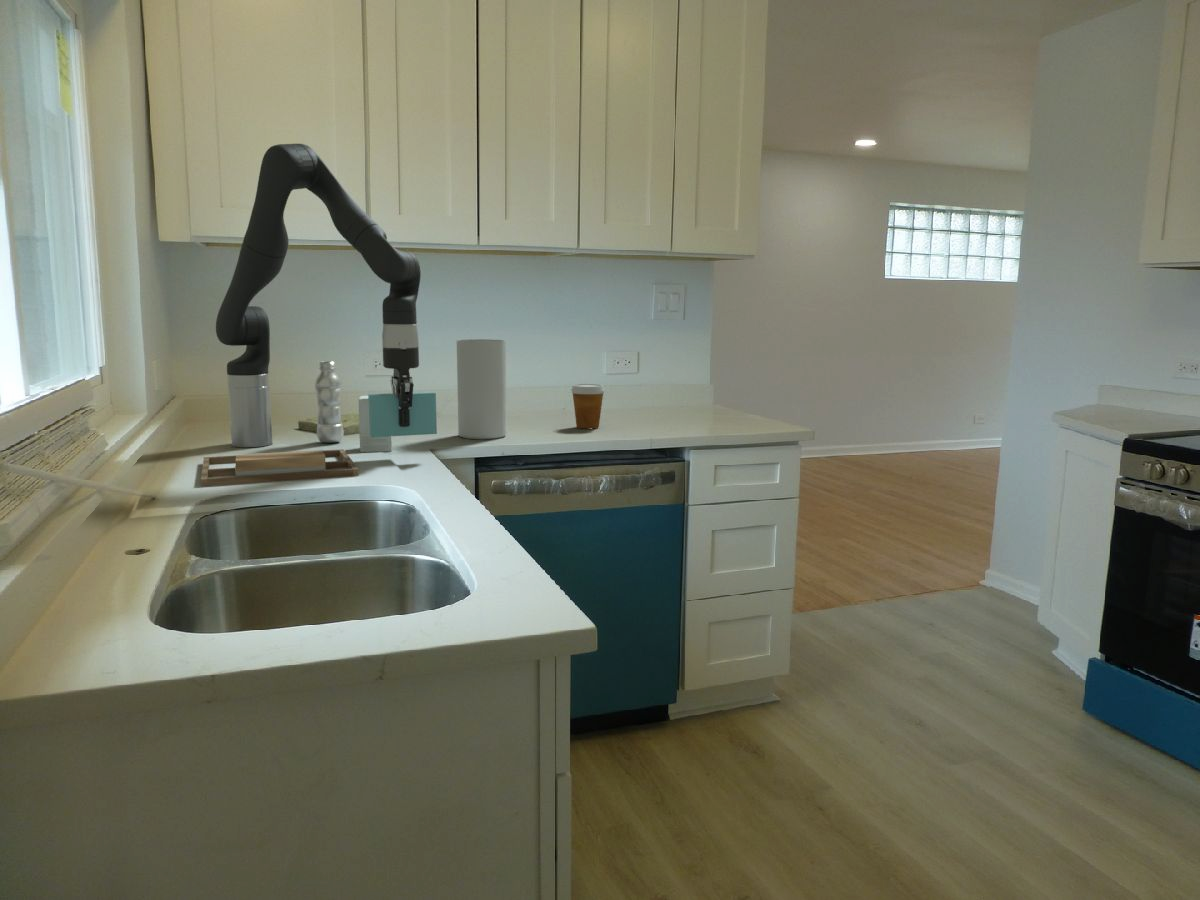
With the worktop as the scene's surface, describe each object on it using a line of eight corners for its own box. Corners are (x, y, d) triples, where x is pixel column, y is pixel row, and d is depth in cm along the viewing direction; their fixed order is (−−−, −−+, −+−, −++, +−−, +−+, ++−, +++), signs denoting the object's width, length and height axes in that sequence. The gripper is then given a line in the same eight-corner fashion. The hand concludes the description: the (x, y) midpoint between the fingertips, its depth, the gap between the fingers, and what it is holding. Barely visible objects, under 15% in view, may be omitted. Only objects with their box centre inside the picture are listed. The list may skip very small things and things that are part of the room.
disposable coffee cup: (565, 428, 239) (566, 386, 237) (577, 424, 248) (577, 383, 246) (598, 430, 236) (598, 387, 234) (608, 426, 245) (609, 384, 243)
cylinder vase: (516, 436, 225) (515, 340, 220) (477, 441, 216) (475, 342, 212) (487, 431, 233) (485, 338, 229) (448, 435, 225) (446, 340, 221)
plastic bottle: (343, 439, 217) (339, 360, 213) (345, 444, 211) (341, 362, 207) (316, 441, 215) (312, 361, 211) (317, 445, 208) (313, 363, 205)
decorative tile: (339, 438, 223) (339, 424, 222) (297, 430, 235) (296, 417, 235) (397, 430, 237) (397, 417, 236) (355, 423, 249) (354, 411, 249)
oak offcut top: (236, 464, 166) (235, 454, 166) (322, 459, 172) (322, 450, 172) (236, 471, 160) (235, 460, 160) (325, 465, 166) (325, 455, 166)
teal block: (369, 435, 185) (368, 394, 183) (434, 432, 190) (433, 391, 189) (371, 437, 182) (369, 395, 181) (436, 433, 188) (435, 393, 186)
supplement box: (392, 451, 201) (390, 398, 198) (359, 452, 199) (357, 398, 197) (393, 446, 208) (391, 394, 206) (361, 447, 206) (359, 395, 204)
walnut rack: (204, 469, 178) (203, 457, 178) (343, 460, 189) (343, 449, 189) (201, 492, 156) (200, 479, 156) (359, 481, 167) (358, 468, 167)
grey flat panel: (235, 475, 166) (235, 465, 166) (321, 469, 173) (321, 460, 172) (236, 482, 160) (235, 472, 160) (325, 476, 166) (325, 465, 166)
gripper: (377, 344, 188) (380, 422, 191) (388, 347, 175) (391, 430, 178) (411, 343, 191) (414, 420, 194) (424, 346, 178) (427, 429, 181)
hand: (403, 425), depth 186 cm, fingers closed on teal block, 2 cm apart
